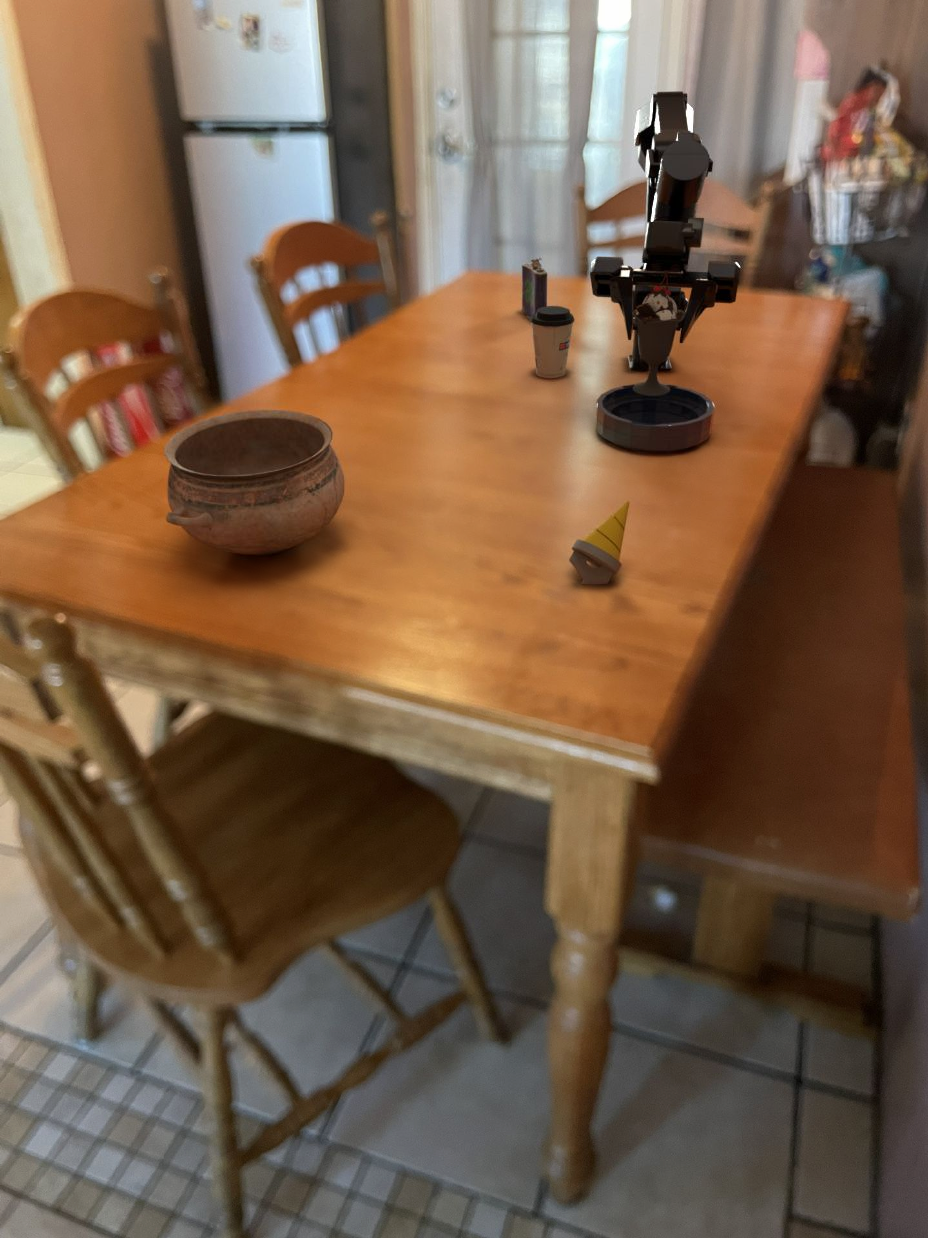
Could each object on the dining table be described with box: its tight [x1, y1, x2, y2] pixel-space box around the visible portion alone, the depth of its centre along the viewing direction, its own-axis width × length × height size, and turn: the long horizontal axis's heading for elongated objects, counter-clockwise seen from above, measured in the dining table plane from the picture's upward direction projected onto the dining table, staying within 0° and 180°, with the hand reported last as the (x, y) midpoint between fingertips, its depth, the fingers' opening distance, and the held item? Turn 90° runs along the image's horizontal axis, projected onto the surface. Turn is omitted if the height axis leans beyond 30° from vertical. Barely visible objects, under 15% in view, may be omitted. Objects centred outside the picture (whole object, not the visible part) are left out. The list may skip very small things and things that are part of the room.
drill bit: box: [568, 500, 630, 585], centre depth 94 cm, size 5×5×10 cm
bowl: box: [594, 383, 716, 454], centre depth 125 cm, size 16×16×4 cm
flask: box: [521, 257, 548, 319], centre depth 170 cm, size 9×3×11 cm, turn 17°
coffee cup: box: [529, 305, 576, 379], centre depth 144 cm, size 7×7×10 cm
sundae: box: [632, 270, 685, 396], centre depth 118 cm, size 7×7×15 cm
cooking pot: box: [164, 409, 345, 557], centre depth 100 cm, size 25×19×12 cm
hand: (654, 340), depth 117 cm, fingers closed on sundae, 6 cm apart
